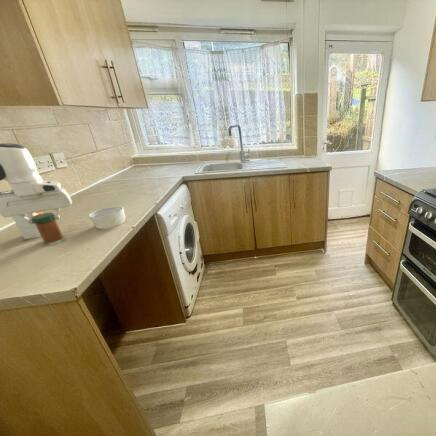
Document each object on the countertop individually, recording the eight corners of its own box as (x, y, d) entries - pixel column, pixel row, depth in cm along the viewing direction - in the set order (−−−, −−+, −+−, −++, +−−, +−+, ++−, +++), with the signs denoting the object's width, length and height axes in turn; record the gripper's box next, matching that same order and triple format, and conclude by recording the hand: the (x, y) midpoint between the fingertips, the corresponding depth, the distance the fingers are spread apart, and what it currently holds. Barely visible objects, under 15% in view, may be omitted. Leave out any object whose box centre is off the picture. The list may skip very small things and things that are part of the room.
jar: (43, 245, 97) (31, 221, 93) (46, 240, 102) (34, 216, 98) (62, 241, 100) (51, 218, 96) (64, 236, 105) (54, 213, 101)
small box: (43, 236, 104) (28, 208, 99) (24, 239, 103) (8, 211, 97) (52, 229, 111) (38, 202, 106) (35, 231, 110) (20, 204, 104)
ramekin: (108, 219, 121) (103, 206, 118) (134, 218, 120) (129, 205, 117) (87, 231, 109) (81, 217, 106) (115, 231, 108) (110, 216, 105)
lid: (50, 221, 96) (48, 217, 95) (29, 224, 94) (27, 220, 93) (58, 215, 101) (56, 211, 100) (38, 218, 99) (36, 214, 98)
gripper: (-15, 195, 84) (5, 231, 90) (63, 185, 95) (76, 217, 100) (-8, 191, 89) (10, 225, 94) (65, 181, 99) (77, 213, 105)
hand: (45, 221), depth 97 cm, fingers closed on lid, 6 cm apart
